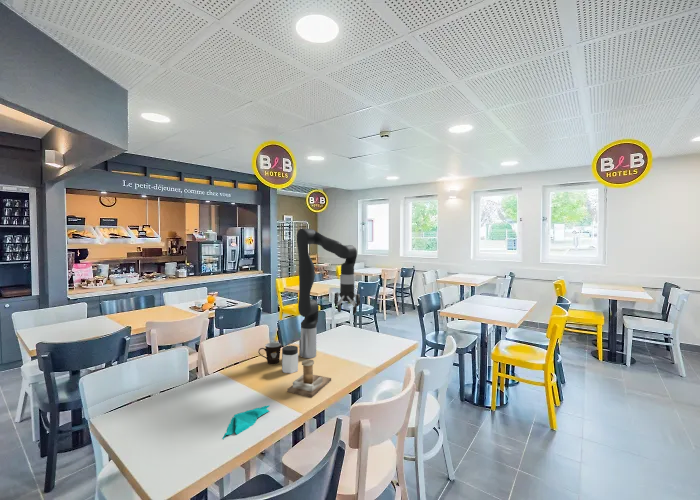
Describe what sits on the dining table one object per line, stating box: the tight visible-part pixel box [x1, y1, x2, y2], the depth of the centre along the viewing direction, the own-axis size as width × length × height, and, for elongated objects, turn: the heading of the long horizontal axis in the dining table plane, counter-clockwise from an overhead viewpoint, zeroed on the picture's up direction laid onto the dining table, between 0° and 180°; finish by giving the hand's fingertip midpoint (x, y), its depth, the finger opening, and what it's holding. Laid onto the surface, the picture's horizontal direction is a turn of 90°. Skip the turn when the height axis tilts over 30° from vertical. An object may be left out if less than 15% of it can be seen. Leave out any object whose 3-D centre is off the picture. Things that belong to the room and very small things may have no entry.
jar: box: [281, 344, 299, 374], centre depth 178 cm, size 9×8×12 cm
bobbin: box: [301, 359, 315, 384], centre depth 158 cm, size 6×6×11 cm
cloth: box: [222, 404, 271, 440], centre depth 130 cm, size 26×14×2 cm, turn 144°
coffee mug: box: [258, 342, 282, 365], centre depth 189 cm, size 12×9×10 cm
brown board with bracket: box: [286, 374, 332, 398], centre depth 160 cm, size 13×19×4 cm
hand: (347, 312), depth 181 cm, fingers open, 8 cm apart
